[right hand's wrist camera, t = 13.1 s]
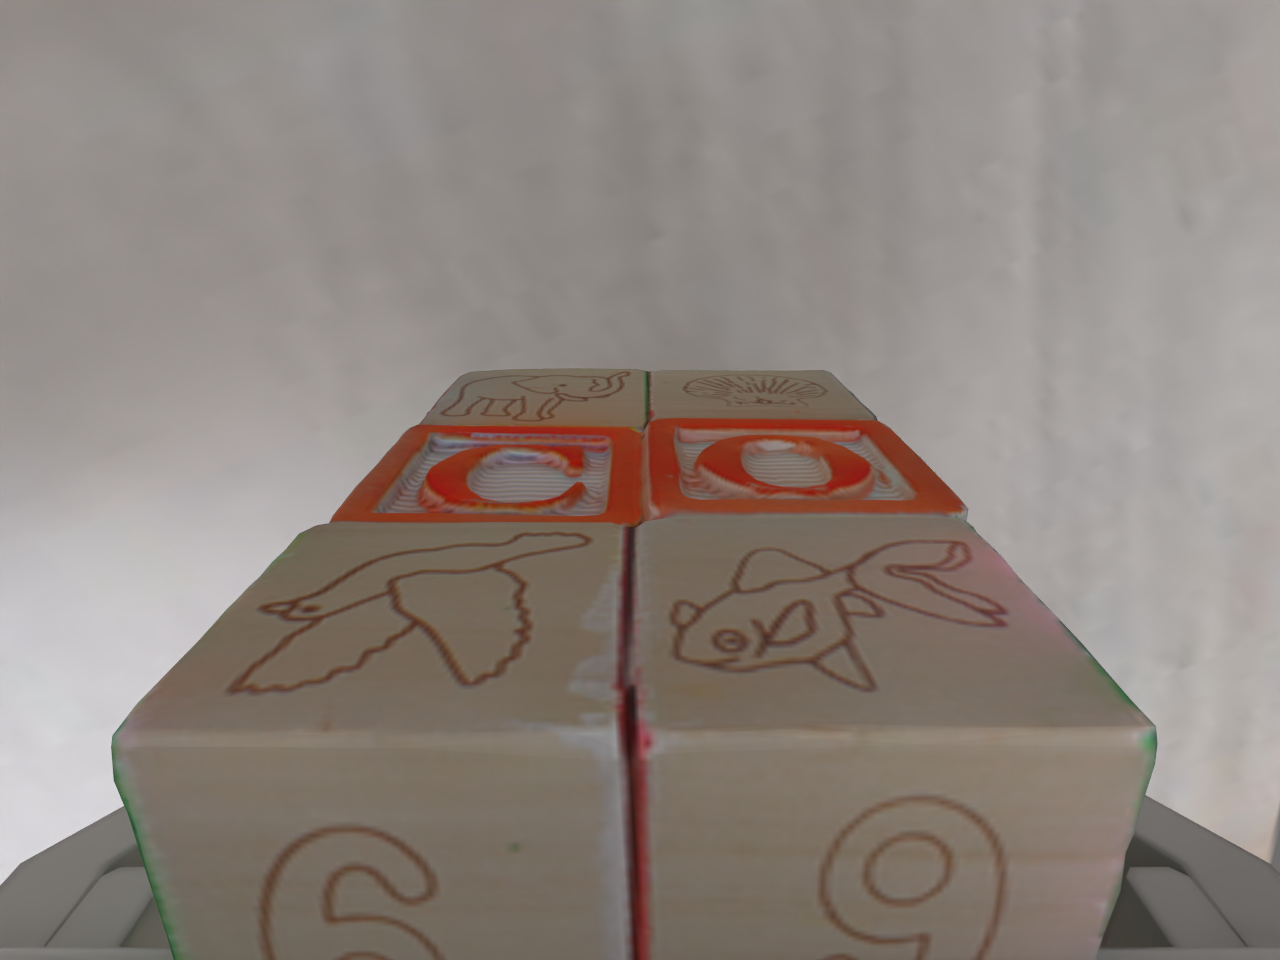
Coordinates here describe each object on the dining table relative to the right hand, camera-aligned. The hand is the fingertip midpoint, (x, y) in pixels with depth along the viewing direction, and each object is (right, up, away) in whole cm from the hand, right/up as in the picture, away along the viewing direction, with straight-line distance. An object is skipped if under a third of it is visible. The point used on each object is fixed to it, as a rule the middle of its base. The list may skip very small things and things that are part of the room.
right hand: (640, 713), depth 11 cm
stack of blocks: (0, -5, +6) cm, 8 cm away
